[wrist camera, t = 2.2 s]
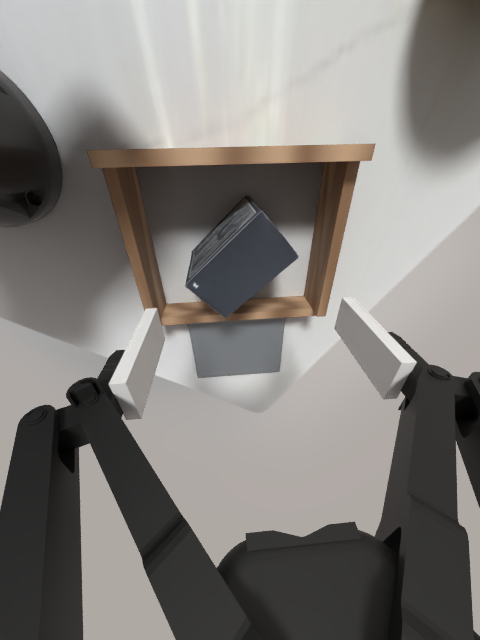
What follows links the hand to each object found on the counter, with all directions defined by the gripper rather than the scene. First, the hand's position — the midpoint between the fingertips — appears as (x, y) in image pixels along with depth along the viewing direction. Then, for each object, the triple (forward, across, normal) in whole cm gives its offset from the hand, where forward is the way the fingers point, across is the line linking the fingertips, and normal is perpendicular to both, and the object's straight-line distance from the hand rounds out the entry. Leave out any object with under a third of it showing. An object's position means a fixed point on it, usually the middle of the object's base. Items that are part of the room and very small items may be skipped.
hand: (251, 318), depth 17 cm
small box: (+19, 0, 0) cm, 19 cm away
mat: (+18, 0, -19) cm, 26 cm away
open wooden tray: (+18, 0, 0) cm, 18 cm away
